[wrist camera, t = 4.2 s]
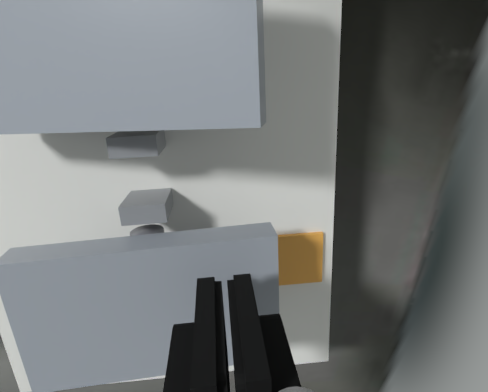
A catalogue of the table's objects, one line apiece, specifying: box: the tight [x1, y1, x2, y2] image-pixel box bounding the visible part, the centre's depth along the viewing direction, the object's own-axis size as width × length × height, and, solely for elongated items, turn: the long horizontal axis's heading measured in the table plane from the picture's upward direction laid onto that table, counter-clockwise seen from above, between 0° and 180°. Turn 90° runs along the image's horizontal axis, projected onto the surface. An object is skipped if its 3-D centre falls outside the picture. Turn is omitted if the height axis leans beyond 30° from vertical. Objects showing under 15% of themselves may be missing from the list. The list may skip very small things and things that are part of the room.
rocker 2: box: [0, 222, 279, 392], centre depth 13 cm, size 5×9×2 cm, turn 93°
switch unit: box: [0, 0, 342, 392], centre depth 13 cm, size 30×15×5 cm, turn 3°
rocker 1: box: [0, 0, 266, 134], centre depth 10 cm, size 5×9×2 cm, turn 93°
